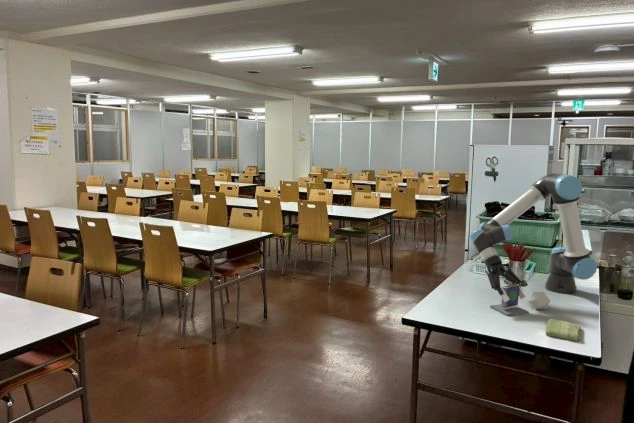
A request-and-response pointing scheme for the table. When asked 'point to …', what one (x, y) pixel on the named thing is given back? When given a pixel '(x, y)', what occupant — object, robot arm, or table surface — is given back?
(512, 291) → the flask
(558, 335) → the washcloth
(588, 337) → the table surface
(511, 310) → the mat
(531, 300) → the die
